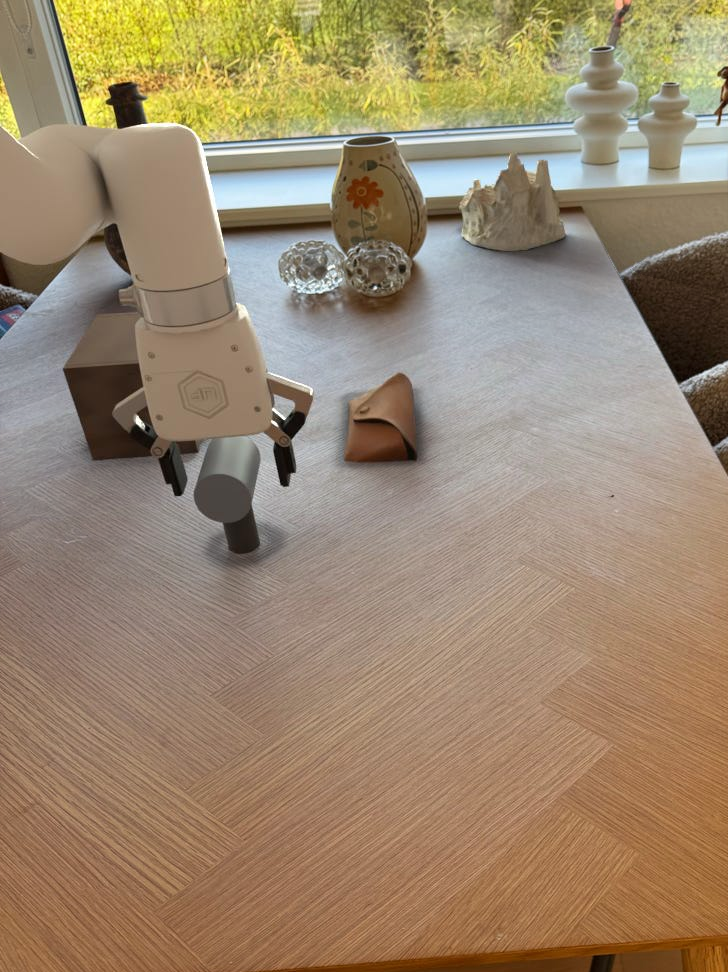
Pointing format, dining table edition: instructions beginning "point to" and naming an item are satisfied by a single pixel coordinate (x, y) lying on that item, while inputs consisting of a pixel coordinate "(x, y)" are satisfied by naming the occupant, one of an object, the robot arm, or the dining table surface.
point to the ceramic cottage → (513, 209)
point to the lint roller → (230, 489)
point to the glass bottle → (127, 115)
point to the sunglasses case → (383, 424)
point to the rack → (109, 386)
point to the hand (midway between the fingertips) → (234, 484)
